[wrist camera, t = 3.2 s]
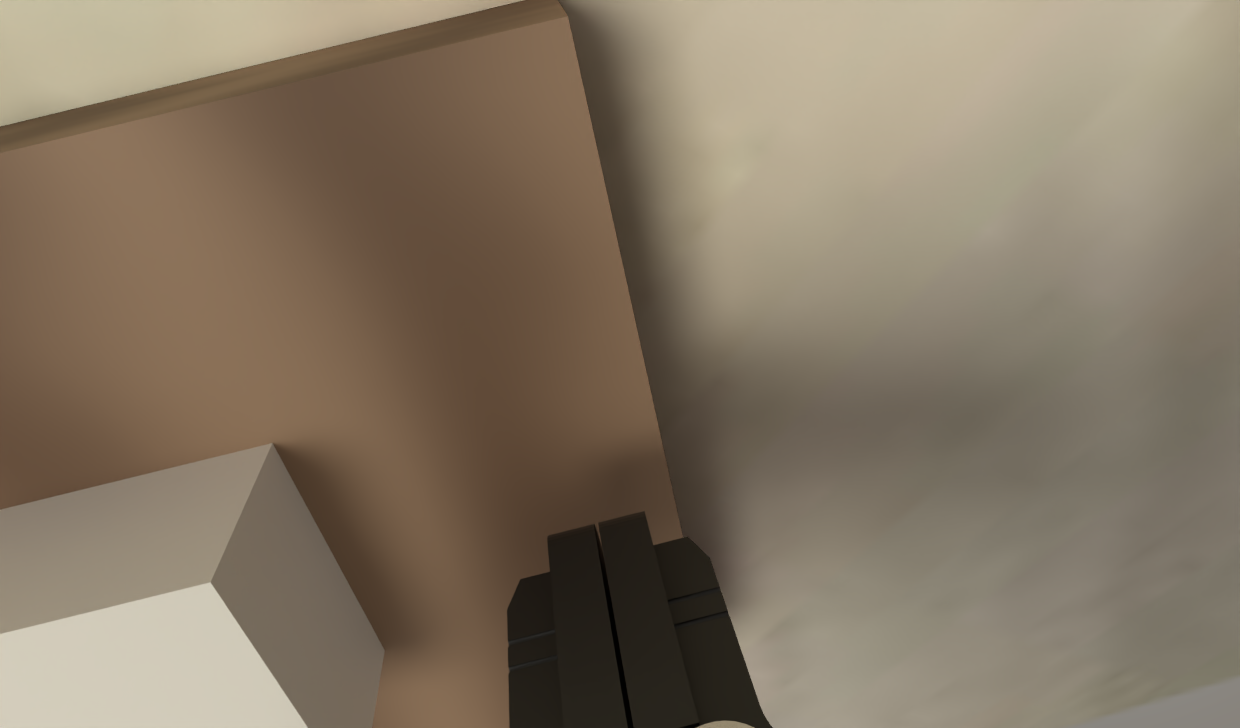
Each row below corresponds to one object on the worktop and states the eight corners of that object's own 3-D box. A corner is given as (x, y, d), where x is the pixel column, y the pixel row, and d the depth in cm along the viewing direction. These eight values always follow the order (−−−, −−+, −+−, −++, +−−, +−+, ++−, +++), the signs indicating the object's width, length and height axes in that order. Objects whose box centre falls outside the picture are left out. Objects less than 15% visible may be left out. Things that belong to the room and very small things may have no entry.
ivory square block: (272, 442, 12) (210, 582, 10) (384, 650, 15) (359, 804, 12) (-38, 518, 12) (-183, 679, 10) (127, 713, 15) (48, 882, 12)
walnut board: (553, -6, 13) (568, 16, 10) (693, 611, 20) (725, 732, 17) (-523, 253, 13) (-843, 356, 10) (20, 778, 20) (-64, 928, 17)
